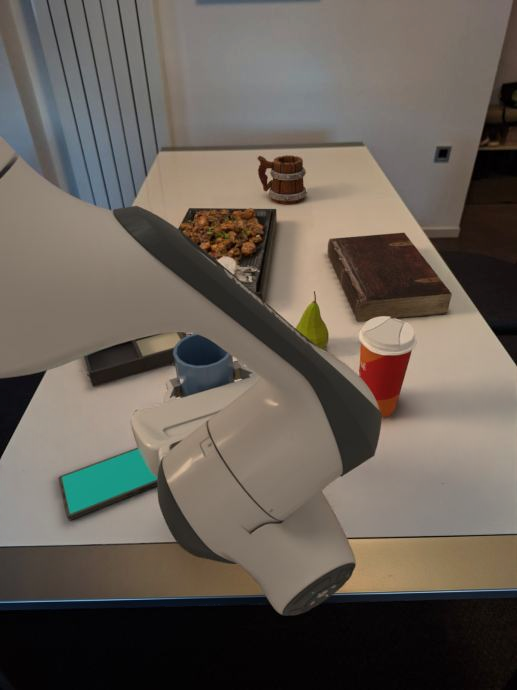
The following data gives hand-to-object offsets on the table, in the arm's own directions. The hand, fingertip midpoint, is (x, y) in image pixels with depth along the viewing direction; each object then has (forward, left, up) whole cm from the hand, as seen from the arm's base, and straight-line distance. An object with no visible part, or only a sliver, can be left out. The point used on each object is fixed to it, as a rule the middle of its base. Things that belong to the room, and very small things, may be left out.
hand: (203, 374), depth 61 cm
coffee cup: (+28, 0, -18) cm, 33 cm away
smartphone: (-13, +4, -17) cm, 22 cm away
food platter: (+24, +59, -18) cm, 66 cm away
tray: (-4, +30, -17) cm, 35 cm away
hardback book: (+52, +32, -18) cm, 64 cm away
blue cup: (0, -1, -6) cm, 6 cm away
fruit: (+26, +18, -18) cm, 36 cm away
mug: (+56, +89, -18) cm, 107 cm away
